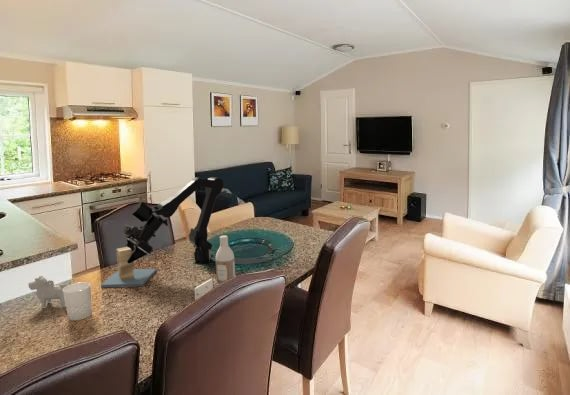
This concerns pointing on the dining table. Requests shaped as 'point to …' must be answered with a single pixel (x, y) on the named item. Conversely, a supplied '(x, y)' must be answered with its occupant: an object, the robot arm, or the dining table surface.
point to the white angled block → (203, 288)
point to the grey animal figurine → (47, 290)
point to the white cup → (78, 300)
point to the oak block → (124, 263)
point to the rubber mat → (139, 279)
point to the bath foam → (224, 261)
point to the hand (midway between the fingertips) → (125, 259)
